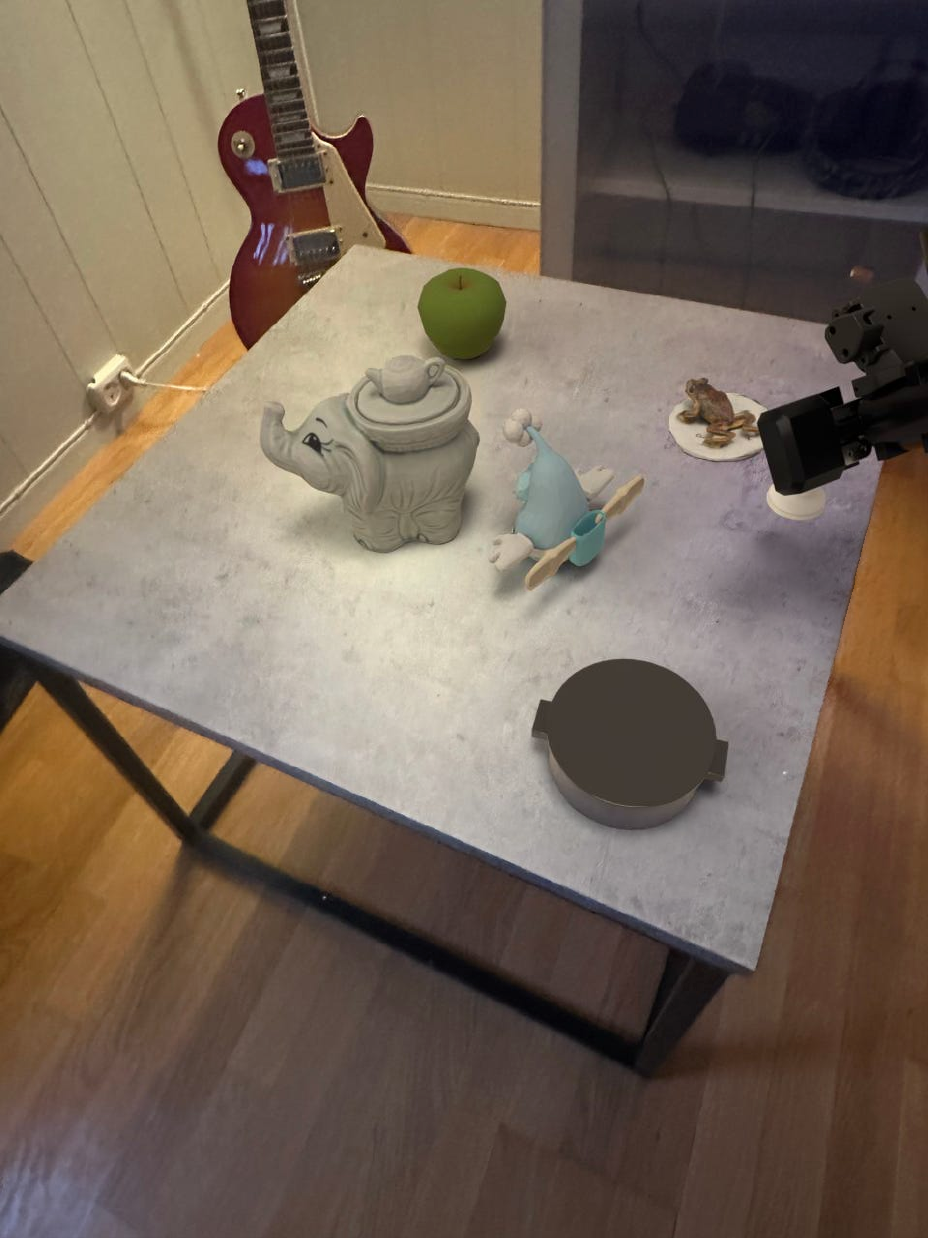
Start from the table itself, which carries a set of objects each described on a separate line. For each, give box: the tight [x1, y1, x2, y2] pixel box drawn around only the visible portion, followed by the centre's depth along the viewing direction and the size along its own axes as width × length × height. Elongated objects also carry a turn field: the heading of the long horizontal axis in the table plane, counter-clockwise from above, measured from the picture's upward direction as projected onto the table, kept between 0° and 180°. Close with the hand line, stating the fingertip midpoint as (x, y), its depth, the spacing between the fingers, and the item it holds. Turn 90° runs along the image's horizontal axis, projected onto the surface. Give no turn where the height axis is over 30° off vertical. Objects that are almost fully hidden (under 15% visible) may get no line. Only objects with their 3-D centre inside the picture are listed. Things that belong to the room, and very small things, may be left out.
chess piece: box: [766, 483, 827, 521], centre depth 63 cm, size 5×5×10 cm
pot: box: [530, 658, 729, 830], centre depth 59 cm, size 15×13×5 cm
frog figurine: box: [667, 377, 769, 462], centre depth 82 cm, size 12×12×4 cm
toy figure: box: [488, 408, 645, 591], centre depth 69 cm, size 17×10×15 cm, turn 136°
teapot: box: [259, 354, 481, 553], centre depth 71 cm, size 16×15×19 cm
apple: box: [416, 267, 507, 360], centre depth 92 cm, size 11×10×10 cm
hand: (806, 433), depth 63 cm, fingers closed on chess piece
